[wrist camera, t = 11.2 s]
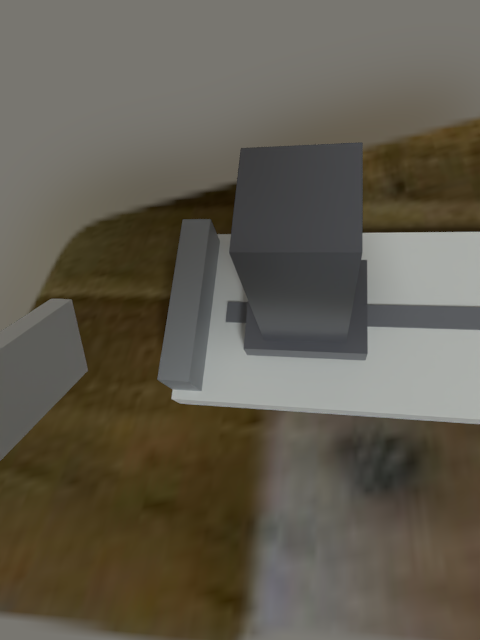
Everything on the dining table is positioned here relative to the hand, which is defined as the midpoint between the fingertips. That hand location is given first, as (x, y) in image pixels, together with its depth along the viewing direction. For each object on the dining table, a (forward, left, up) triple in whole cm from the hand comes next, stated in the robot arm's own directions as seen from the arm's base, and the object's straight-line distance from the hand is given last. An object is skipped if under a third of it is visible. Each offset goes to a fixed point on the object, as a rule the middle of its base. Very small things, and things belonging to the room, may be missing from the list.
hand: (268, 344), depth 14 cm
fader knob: (-1, -5, -9) cm, 10 cm away
